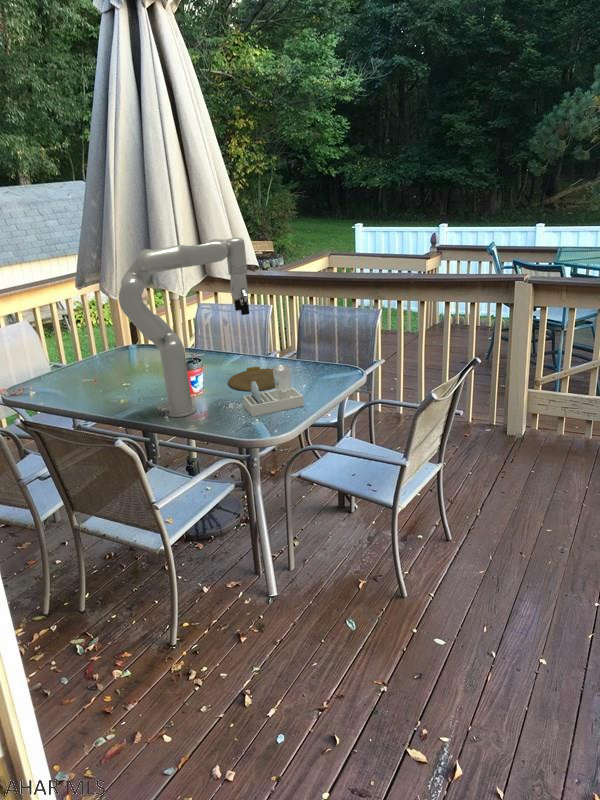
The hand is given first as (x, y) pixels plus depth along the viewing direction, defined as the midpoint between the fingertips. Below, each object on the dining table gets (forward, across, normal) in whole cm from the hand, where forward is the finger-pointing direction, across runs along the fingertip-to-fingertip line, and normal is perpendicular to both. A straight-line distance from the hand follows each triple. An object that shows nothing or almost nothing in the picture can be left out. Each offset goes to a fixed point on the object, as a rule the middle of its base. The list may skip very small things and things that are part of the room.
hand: (242, 312), depth 253 cm
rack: (+38, +12, +6) cm, 41 cm away
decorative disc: (+39, -24, +10) cm, 47 cm away
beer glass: (+38, +12, +11) cm, 41 cm away
